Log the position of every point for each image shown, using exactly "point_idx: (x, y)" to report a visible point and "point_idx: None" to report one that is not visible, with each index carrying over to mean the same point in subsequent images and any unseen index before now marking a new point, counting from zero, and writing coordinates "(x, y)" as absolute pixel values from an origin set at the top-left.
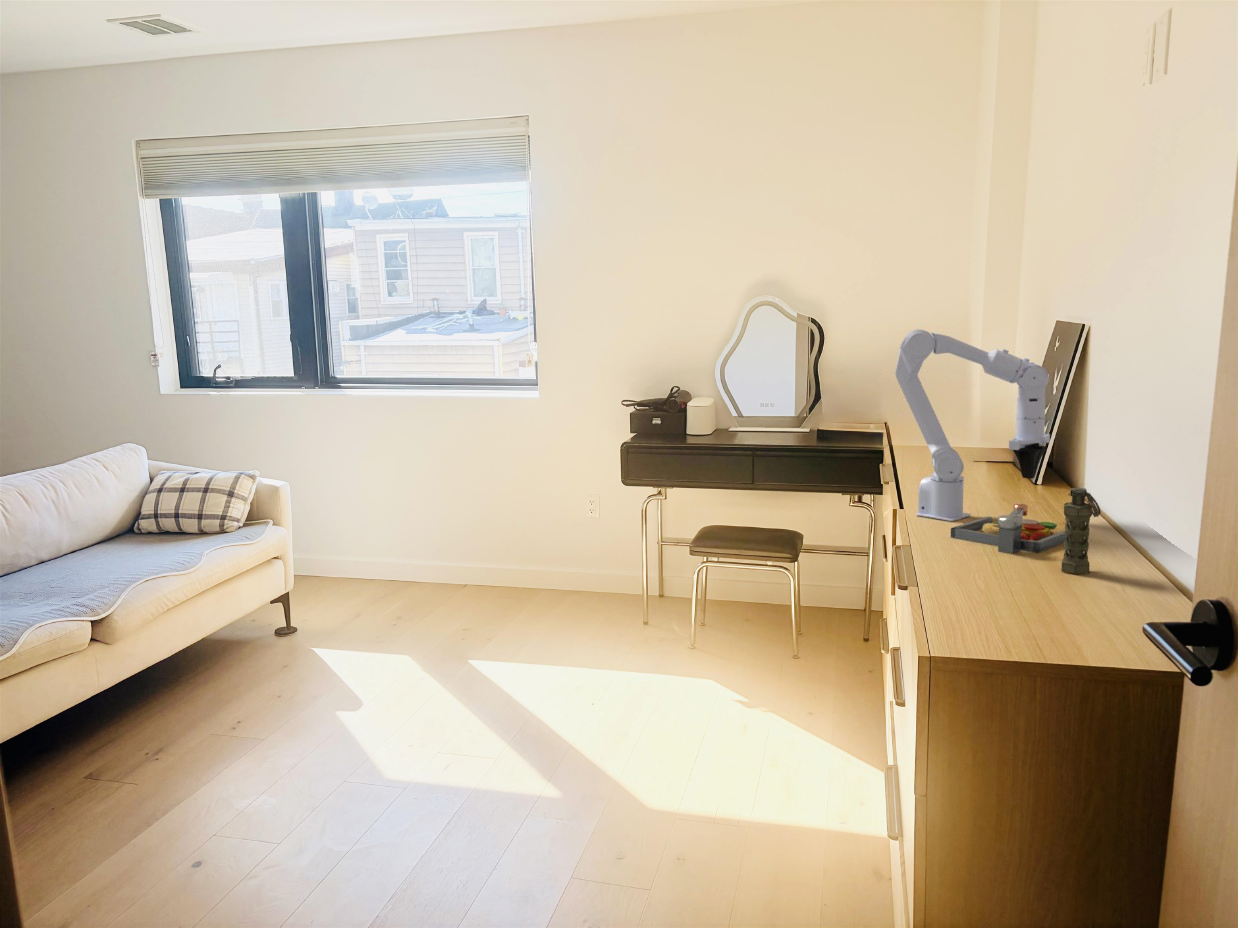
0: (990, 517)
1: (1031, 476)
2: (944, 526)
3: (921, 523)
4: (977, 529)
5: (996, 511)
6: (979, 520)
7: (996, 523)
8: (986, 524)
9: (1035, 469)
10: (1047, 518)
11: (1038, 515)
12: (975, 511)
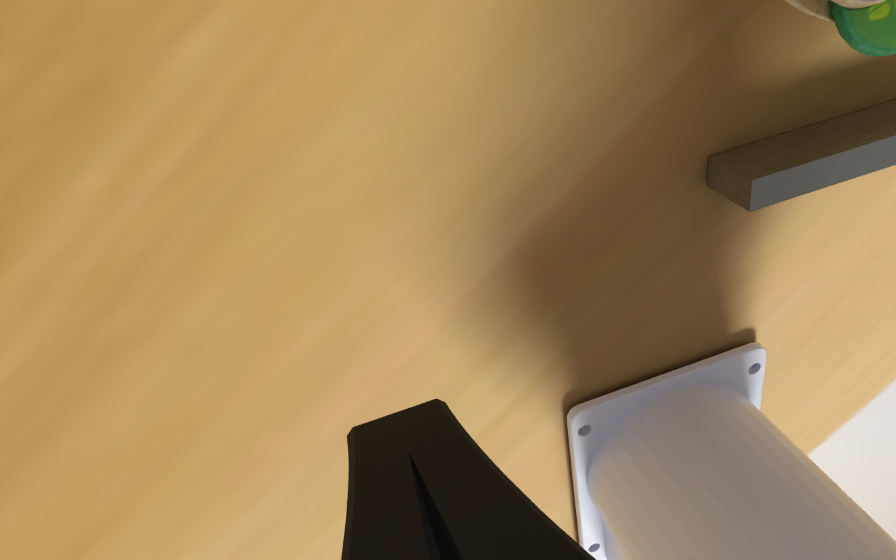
0: (769, 177)
1: (455, 418)
2: (862, 280)
3: (858, 375)
4: (879, 108)
5: (321, 456)
6: (891, 145)
7: (879, 31)
8: None
9: (410, 515)
10: (153, 118)
11: (136, 244)
12: None
